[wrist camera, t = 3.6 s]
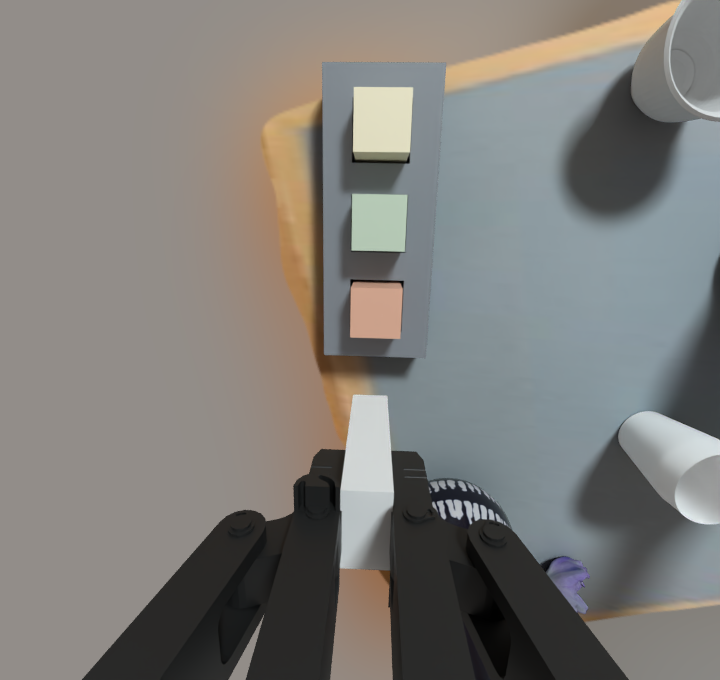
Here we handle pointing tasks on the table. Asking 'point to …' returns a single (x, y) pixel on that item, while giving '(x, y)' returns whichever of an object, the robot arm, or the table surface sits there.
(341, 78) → the panel
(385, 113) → the button cream
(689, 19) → the teacup
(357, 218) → the button sage
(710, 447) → the cup
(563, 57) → the table surface
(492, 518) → the vase
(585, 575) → the flower
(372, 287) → the button terracotta
